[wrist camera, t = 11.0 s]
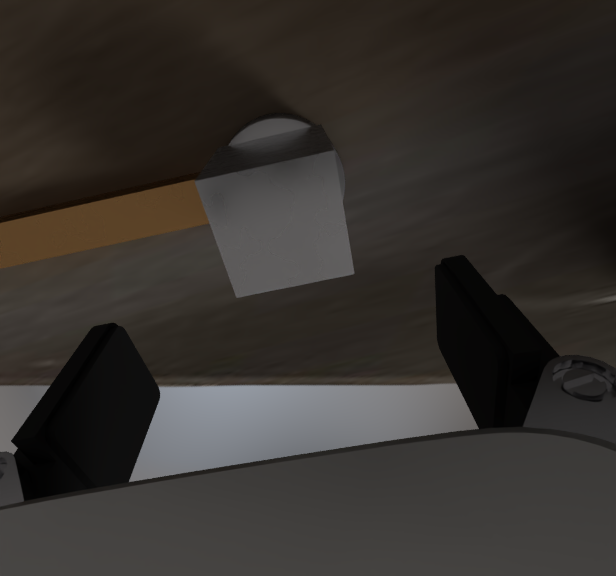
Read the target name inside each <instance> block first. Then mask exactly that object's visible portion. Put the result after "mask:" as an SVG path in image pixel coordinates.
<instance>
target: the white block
mask: <svg viewBox="0 0 616 576" xmlns="http://www.w3.org/2000/svg"><path fill="white" fill-rule="evenodd" d="M194 182H195V185H196V187H197V190H198V193H199V196H200V198H201V201H202V204H203V207H204V209H205V212H206V215H207V218H208V220H209V223H210V226H211V229H212V231H213V234H214V237H215V240H216V242H217V245H218V248H219V251H220V253H221V256H222V259H223V262H224V264H225V267H226V270H227V273H228V275H229V278H230V281H231V284H232V286H233V289H234V292H235V295H236V297H237V298H238V297H243V296H248V295H253V294H258V293H263V292H268V291H273V290H278V289H283V288H288V287H292V286H297V285H302V284H307V283H312V282H317V281H322V280H327V279H332V278H337V277H342V276H347V275H352V274H354V269H353V262H352V256H351V250H350V244H349V238H348V232H347V226H346V219H345V213H344V207H343V201H342V195H341V189H340V182H339V176H338V170H337V164H336V158H335V152H334V149H333V147H332V145H331V143H330V141H329V139H328V137H327V135H326V133H325V131H324V129H323V127H322V125H321V124H320V125H315V126H311V127H306V128H302V129H298V130H293V131H289V132H285V133H280V134H276V135H271V136H267V137H263V138H258V139H254V140H250V141H245V142H241V143H236V144H232V145H228V146H223V147H219V148H218V149H217V150H216V152H215V153H214V154H213V156H212V157H211V159H210V160H209V161H208V163H207V164H206V166H205V167H204V168H203V170H202V171H201V173H200V174H199V176H198V177H197V178H196V180H195V181H194Z"/></svg>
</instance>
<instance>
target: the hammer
mask: <svg viewBox="0 0 616 576" xmlns="http://www.w3.org/2000/svg"><path fill="white" fill-rule="evenodd" d="M311 126H315V124H314V123H312V122H310V121H309V120H307V119H305V118H302V117H300V116H296V115H293V114H286V113H274V114H267V115H264V116H261V117H258V118H256V119H254V120H252V121H250V122H249V123H247V124H246V125H244V126H243V127H242V128H241V129H240V130H239V131H238V132H237V133H236V134H235V136H234V137H233V138H232V140H231V142H230V143H229V145H232V144H236V143H241V142H245V141H250V140H254V139H258V138H263V137H267V136H271V135H276V134H280V133H285V132H289V131H293V130H298V129H302V128H306V127H311ZM327 137H328V136H327ZM328 139H329V138H328ZM329 141H330V139H329ZM330 143H331V145H332V147H333V149H334V152H335V158H336V164H337V170H338V176H339V182H340V189H341V195H342V201H343V198H344V192H345V175H344V170H343V166H342V163H341V160H340V157H339V156H338V154H337V152H336V150H335V148H334V146H333V144H332V142H331V141H330ZM200 173H201V172H198V173H193V174H189V175H185V176H180V177H176V178H171V179H167V180H162V181H158V182H154V183H149V184H145V185H140V186H136V187H131V188H127V189H123V190H118V191H114V192H109V193H105V194H100V195H96V196H92V197H87V198H83V199H78V200H74V201H69V202H65V203H60V204H56V205H52V206H47V207H43V208H38V209H34V210H29V211H25V212H21V213H16V214H12V215H7V216H3V217H0V268H5V267H10V266H14V265H19V264H24V263H28V262H33V261H37V260H42V259H47V258H51V257H56V256H61V255H65V254H70V253H74V252H79V251H84V250H88V249H93V248H98V247H102V246H107V245H111V244H116V243H121V242H125V241H130V240H135V239H139V238H144V237H148V236H153V235H158V234H162V233H167V232H172V231H176V230H181V229H185V228H190V227H195V226H199V225H204V224H209V220H208V218H207V215H206V212H205V209H204V207H203V204H202V201H201V198H200V196H199V193H198V190H197V187H196V185H195V182H194V181H195V180H196V178H197V177H198V176H199V174H200Z"/></svg>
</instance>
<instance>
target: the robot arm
mask: <svg viewBox="0 0 616 576" xmlns="http://www.w3.org/2000/svg"><path fill="white" fill-rule="evenodd" d="M435 289H436V320H437V341H438V345H439V348H440V351H441V353H442V355H443V357H444V359H445V361H446V363H447V365H448V367H449V369H450V371H451V373H452V375H453V377H454V379H455V381H456V383H457V385H458V387H459V389H460V391H461V393H462V395H463V397H464V399H465V401H466V403H467V405H468V407H469V409H470V411H471V413H472V415H473V417H474V419H475V421H476V424H477V426H478V428H479V429H475V430H466V431H456V432H448V433H441V434H435V435H427V436H419V437H412V438H405V439H399V440H391V441H384V442H378V443H372V444H365V445H359V446H352V447H346V448H339V449H333V450H326V451H320V452H314V453H307V454H300V455H294V456H288V457H281V458H275V459H269V460H263V461H256V462H250V463H244V464H238V465H231V466H225V467H219V468H214V469H207V470H201V471H194V472H188V473H182V474H176V475H170V476H164V477H158V478H152V479H146V480H140V481H134V482H129V479H130V477H131V474H132V471H133V469H134V466H135V463H136V461H137V458H138V455H139V453H140V450H141V447H142V445H143V442H144V439H145V437H146V434H147V431H148V429H149V426H150V423H151V421H152V418H153V415H154V413H155V410H156V407H157V405H158V402H159V399H160V391H159V387H158V386H157V384H156V382H155V380H154V379H153V377H152V375H151V374H150V372H149V370H148V368H147V367H146V365H145V363H144V361H143V360H142V358H141V356H140V355H139V353H138V351H137V349H136V348H135V346H134V344H133V343H132V341H131V339H130V337H129V336H128V334H127V332H126V331H125V329H124V328H123V327H121V326H118V325H117V324H115V323H109V324H104V325H98V326H94V327H93V328H92V329H91V330H90V331H89V332H88V334H87V335H86V337H85V338H84V339H83V341H82V342H81V344H80V345H79V347H78V348H77V349H76V351H75V352H74V354H73V355H72V356H71V358H70V359H69V361H68V362H67V363H66V365H65V366H64V368H63V369H62V370H61V372H60V373H59V375H58V376H57V377H56V379H55V380H54V382H53V383H52V384H51V386H50V387H49V389H48V390H47V391H46V393H45V394H44V396H43V397H42V398H41V400H40V401H39V403H38V404H37V405H36V407H35V408H34V410H33V411H32V413H31V414H30V415H29V417H28V418H27V419H26V421H25V422H24V424H23V425H22V426H21V428H20V429H19V431H18V432H17V434H16V435H15V436H14V438H13V439H12V440H11V442H12V443H13V444H14V445H15V446H16V447H17V448H18V449H17V451H16V452H15V454H14V455H13V454H12V453H9V452H0V576H616V368H614V367H613V366H611V365H609V364H607V363H605V362H604V361H601V360H598V359H595V358H592V357H587V356H581V355H565V356H559V355H558V354H557V353H556V351H555V350H554V349H553V348H552V347H551V346H550V344H549V343H548V342H547V341H546V340H545V339H544V338H543V336H542V335H541V334H540V333H539V332H538V331H537V330H536V328H535V327H534V326H533V325H532V324H531V323H530V322H529V320H528V319H527V318H526V317H525V316H524V315H523V314H522V312H521V311H520V310H519V309H518V308H517V307H516V306H515V304H514V303H513V302H512V301H511V300H510V299H509V298H508V297H507V296H506V295H503V294H501V295H497V294H496V293H495V292H494V291H493V289H492V288H491V287H490V286H489V285H488V283H487V282H486V281H485V280H484V279H483V278H482V276H481V275H480V274H479V273H478V272H477V270H476V269H475V268H474V267H473V266H472V264H471V263H470V262H469V261H468V260H467V258H466V257H465V256H464V255H460V256H454V257H449V258H444V259H442V260H441V264H440V265H436V266H435Z"/></svg>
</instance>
